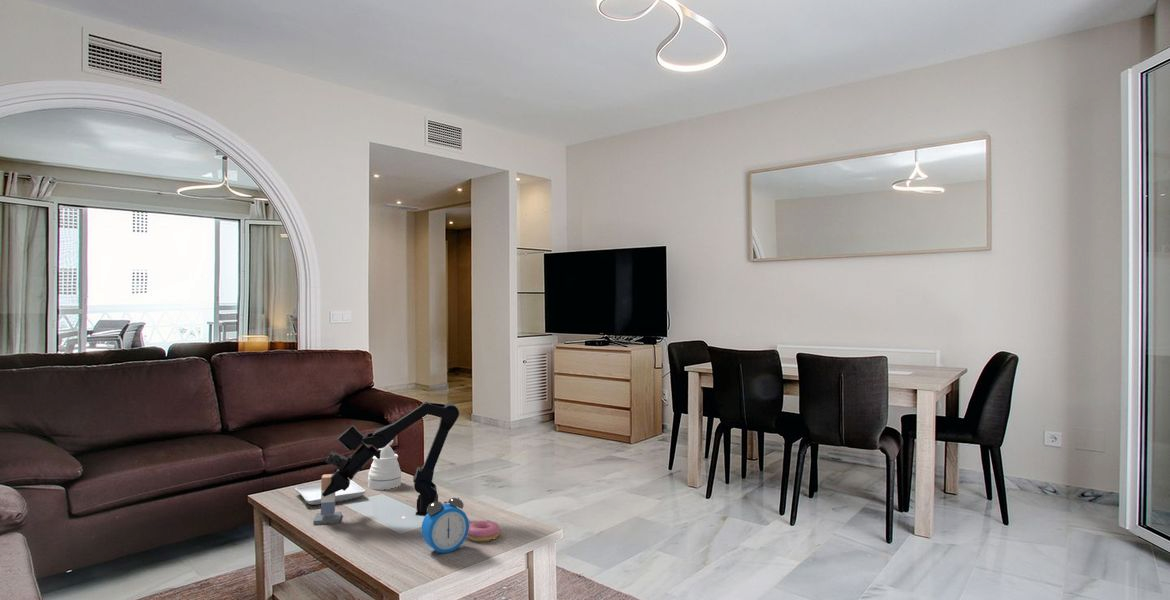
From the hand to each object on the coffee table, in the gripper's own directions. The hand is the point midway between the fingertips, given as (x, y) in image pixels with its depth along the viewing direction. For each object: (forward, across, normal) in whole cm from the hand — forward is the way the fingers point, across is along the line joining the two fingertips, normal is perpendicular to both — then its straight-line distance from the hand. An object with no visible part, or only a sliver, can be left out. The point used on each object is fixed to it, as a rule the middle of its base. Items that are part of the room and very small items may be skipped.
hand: (324, 493), depth 212 cm
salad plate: (+8, -27, +6) cm, 29 cm away
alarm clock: (-21, +36, +34) cm, 53 cm away
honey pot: (-6, -39, +19) cm, 44 cm away
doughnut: (-29, +27, +42) cm, 58 cm away
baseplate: (+5, 0, +7) cm, 9 cm away
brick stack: (+4, 0, +6) cm, 7 cm away
